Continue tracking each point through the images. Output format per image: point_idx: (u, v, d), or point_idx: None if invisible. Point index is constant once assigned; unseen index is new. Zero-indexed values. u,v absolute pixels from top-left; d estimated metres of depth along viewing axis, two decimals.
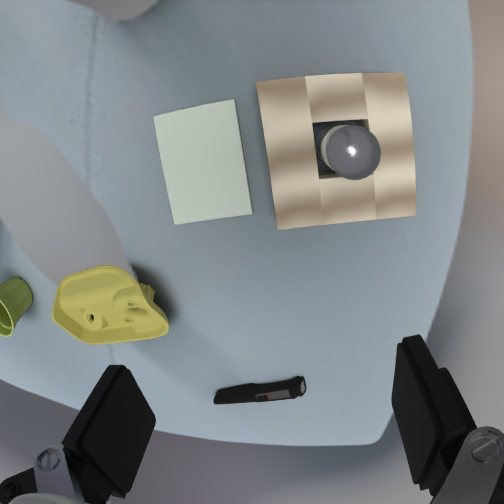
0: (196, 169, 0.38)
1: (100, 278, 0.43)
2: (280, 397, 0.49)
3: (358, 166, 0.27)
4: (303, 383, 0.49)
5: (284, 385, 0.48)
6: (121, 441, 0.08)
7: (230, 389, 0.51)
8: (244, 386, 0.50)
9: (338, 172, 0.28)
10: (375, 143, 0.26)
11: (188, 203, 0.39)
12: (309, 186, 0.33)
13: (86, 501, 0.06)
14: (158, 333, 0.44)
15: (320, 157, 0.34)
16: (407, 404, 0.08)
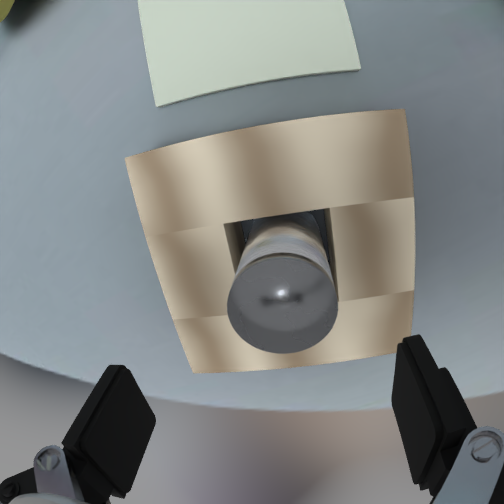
0: (229, 8, 0.17)
1: None
2: None
3: (255, 318, 0.15)
4: None
5: None
6: (121, 441, 0.08)
7: None
8: None
9: (238, 283, 0.14)
10: (303, 344, 0.15)
11: (170, 4, 0.17)
12: (208, 207, 0.18)
13: (86, 501, 0.06)
14: None
15: (264, 217, 0.20)
16: (407, 404, 0.08)
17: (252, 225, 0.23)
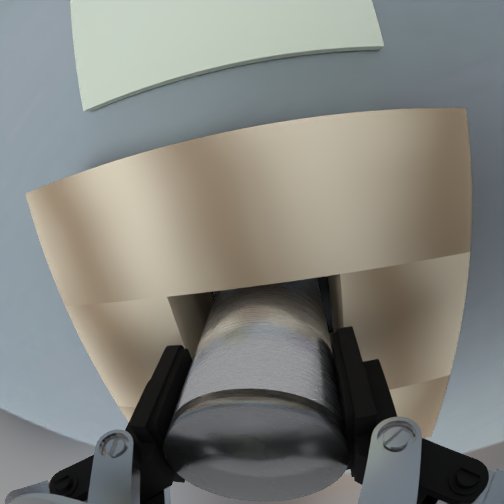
0: None
1: None
2: None
3: (211, 471, 0.07)
4: None
5: None
6: None
7: None
8: None
9: (175, 434, 0.07)
10: (289, 495, 0.08)
11: None
12: (142, 271, 0.11)
13: (143, 490, 0.07)
14: None
15: None
16: None
17: None
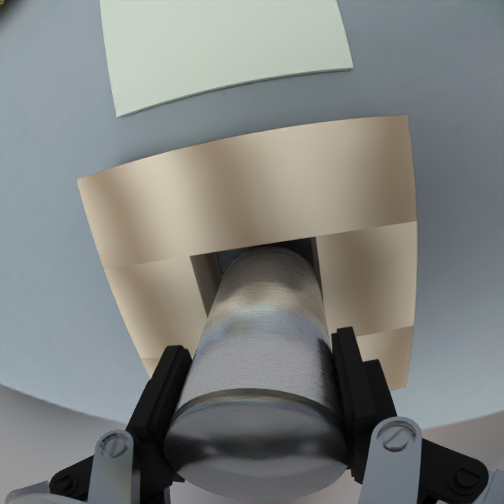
0: (200, 0, 0.14)
1: None
2: None
3: (211, 471, 0.07)
4: None
5: None
6: None
7: None
8: None
9: (175, 434, 0.07)
10: (289, 495, 0.08)
11: None
12: (171, 236, 0.15)
13: (143, 490, 0.07)
14: None
15: (235, 276, 0.13)
16: None
17: None
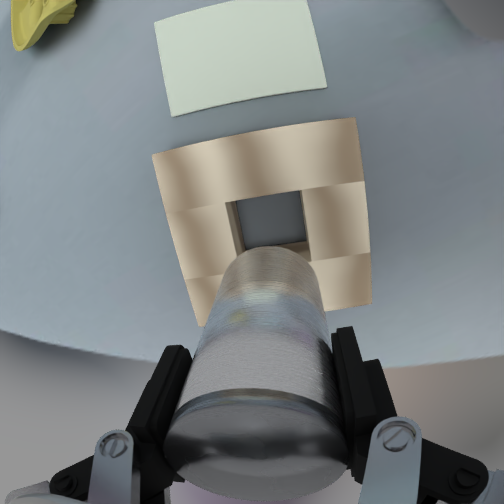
0: (228, 41, 0.24)
1: None
2: None
3: (211, 471, 0.07)
4: None
5: None
6: None
7: None
8: None
9: (176, 434, 0.07)
10: (289, 495, 0.08)
11: (182, 35, 0.24)
12: (213, 190, 0.25)
13: (143, 490, 0.07)
14: (15, 39, 0.21)
15: (235, 276, 0.13)
16: None
17: None
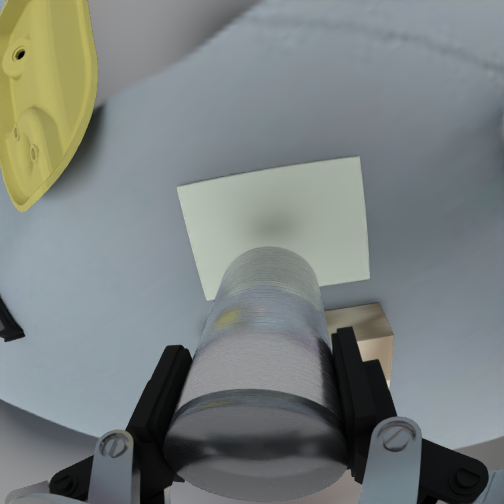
0: (267, 224, 0.25)
1: (75, 70, 0.20)
2: None
3: (211, 472, 0.07)
4: None
5: (6, 322, 0.32)
6: None
7: None
8: None
9: (175, 434, 0.07)
10: (289, 495, 0.08)
11: (212, 211, 0.25)
12: None
13: (143, 490, 0.07)
14: (7, 184, 0.22)
15: (235, 277, 0.13)
16: None
17: None
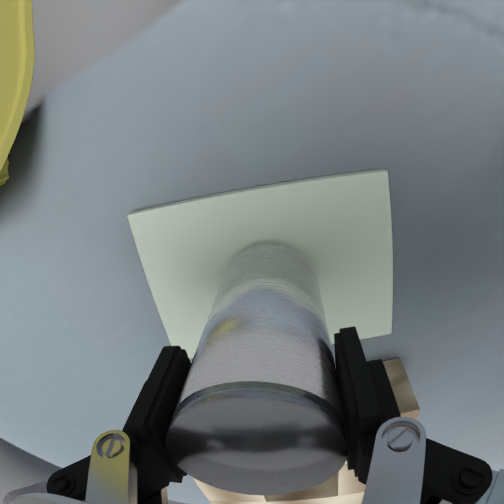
0: None
1: (7, 64, 0.13)
2: None
3: (213, 465, 0.08)
4: None
5: None
6: None
7: None
8: None
9: (178, 427, 0.07)
10: (289, 489, 0.08)
11: (177, 248, 0.17)
12: None
13: (140, 490, 0.07)
14: None
15: (236, 274, 0.14)
16: (340, 391, 0.09)
17: (222, 278, 0.16)
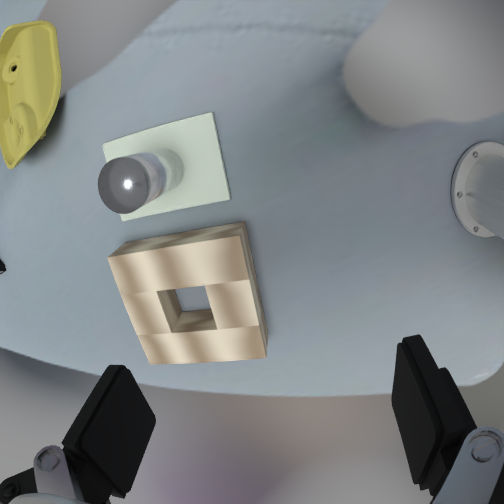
0: None
1: (47, 79, 0.30)
2: None
3: (110, 193, 0.26)
4: (1, 272, 0.44)
5: None
6: (121, 441, 0.08)
7: None
8: None
9: (100, 174, 0.26)
10: (135, 205, 0.26)
11: None
12: (148, 283, 0.36)
13: (86, 501, 0.06)
14: (3, 153, 0.32)
15: None
16: (407, 404, 0.08)
17: None
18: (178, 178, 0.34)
